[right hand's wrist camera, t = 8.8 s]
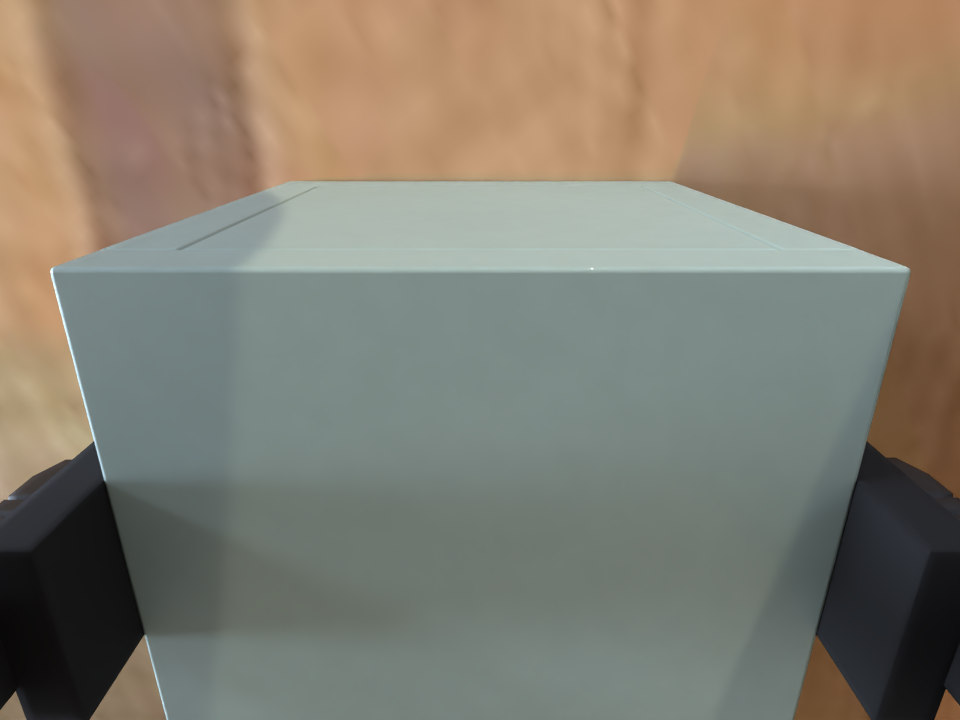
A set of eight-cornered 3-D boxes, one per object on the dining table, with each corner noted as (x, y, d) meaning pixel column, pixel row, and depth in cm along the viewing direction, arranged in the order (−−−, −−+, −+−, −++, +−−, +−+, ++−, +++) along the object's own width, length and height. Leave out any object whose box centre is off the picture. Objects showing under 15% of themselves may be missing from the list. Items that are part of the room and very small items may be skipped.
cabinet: (608, 759, 25) (684, 1143, 15) (351, 759, 24) (275, 1143, 15) (672, 181, 16) (915, 267, 7) (287, 181, 16) (45, 267, 7)
